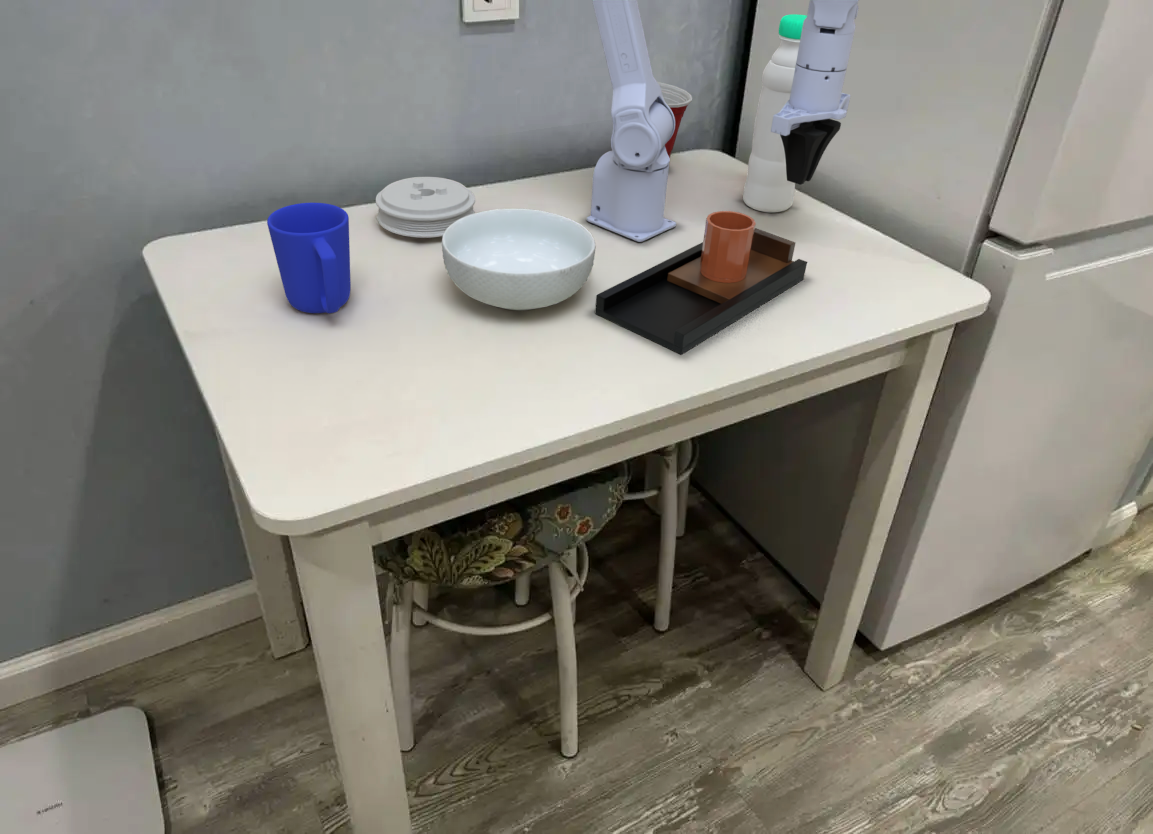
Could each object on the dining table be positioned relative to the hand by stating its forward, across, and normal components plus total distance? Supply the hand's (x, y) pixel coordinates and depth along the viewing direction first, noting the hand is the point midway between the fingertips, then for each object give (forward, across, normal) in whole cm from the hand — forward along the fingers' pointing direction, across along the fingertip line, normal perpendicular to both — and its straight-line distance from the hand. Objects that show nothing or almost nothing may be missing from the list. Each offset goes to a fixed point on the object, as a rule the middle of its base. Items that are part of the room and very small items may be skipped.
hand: (798, 180), depth 110 cm
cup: (+8, -14, 0) cm, 16 cm away
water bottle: (+10, +12, +10) cm, 18 cm away
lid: (+10, -28, +37) cm, 48 cm away
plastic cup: (+10, +10, +30) cm, 33 cm away
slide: (+9, -13, 0) cm, 15 cm away
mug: (+10, -52, +27) cm, 59 cm away
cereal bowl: (+10, -34, +15) cm, 38 cm away
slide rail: (+9, -18, 0) cm, 20 cm away
